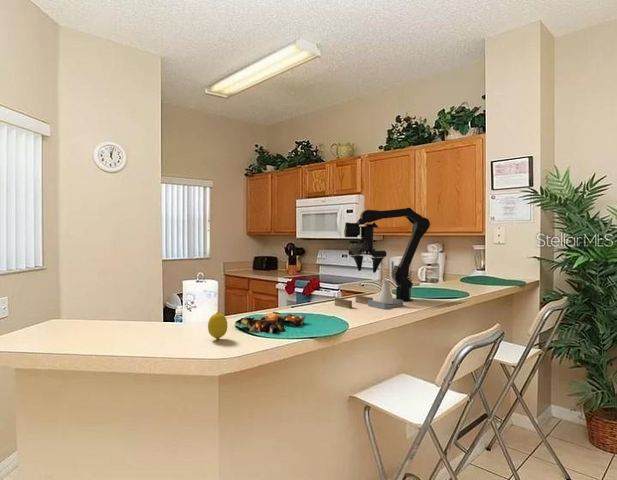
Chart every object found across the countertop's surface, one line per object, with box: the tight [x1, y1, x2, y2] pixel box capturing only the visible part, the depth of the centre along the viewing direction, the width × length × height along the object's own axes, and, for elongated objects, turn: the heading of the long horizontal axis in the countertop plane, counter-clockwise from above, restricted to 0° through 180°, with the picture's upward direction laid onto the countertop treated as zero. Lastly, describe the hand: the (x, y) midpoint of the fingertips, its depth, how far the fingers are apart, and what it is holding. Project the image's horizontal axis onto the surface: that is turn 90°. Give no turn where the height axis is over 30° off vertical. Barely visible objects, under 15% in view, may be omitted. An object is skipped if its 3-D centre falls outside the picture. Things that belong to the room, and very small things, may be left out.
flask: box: [377, 279, 394, 305], centre depth 169 cm, size 7×7×10 cm
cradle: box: [367, 297, 404, 310], centre depth 170 cm, size 12×9×2 cm
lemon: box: [207, 311, 228, 341], centre depth 116 cm, size 6×6×8 cm
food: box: [234, 311, 307, 335], centre depth 135 cm, size 22×19×4 cm
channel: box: [334, 294, 374, 310], centre depth 171 cm, size 14×9×3 cm, turn 128°
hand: (366, 271), depth 183 cm, fingers open, 9 cm apart
